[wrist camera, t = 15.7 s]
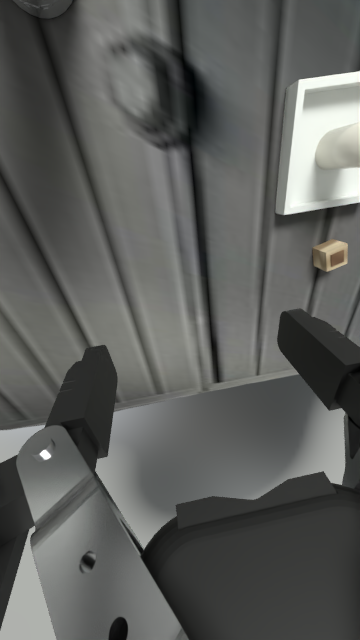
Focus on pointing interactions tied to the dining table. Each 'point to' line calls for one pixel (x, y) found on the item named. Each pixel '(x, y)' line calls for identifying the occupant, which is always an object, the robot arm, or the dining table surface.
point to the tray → (316, 143)
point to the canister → (339, 148)
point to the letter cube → (330, 255)
